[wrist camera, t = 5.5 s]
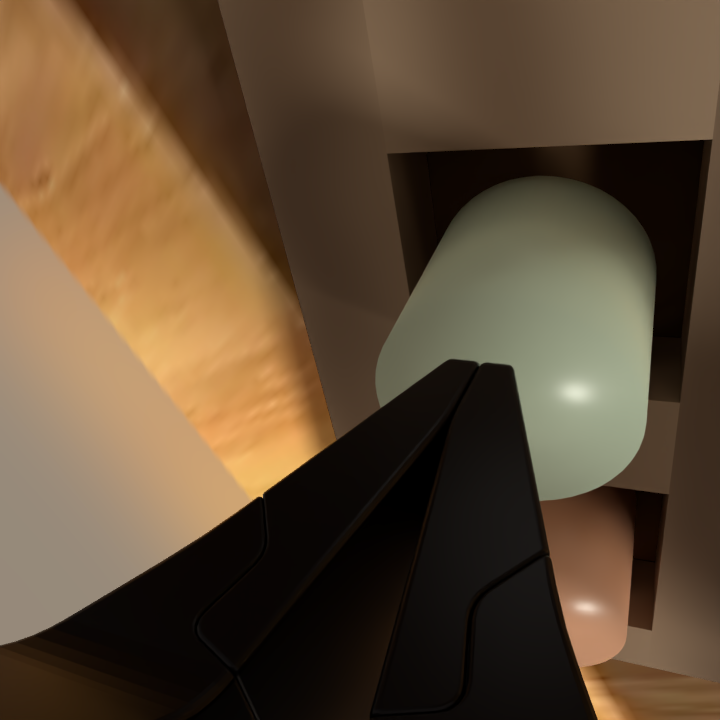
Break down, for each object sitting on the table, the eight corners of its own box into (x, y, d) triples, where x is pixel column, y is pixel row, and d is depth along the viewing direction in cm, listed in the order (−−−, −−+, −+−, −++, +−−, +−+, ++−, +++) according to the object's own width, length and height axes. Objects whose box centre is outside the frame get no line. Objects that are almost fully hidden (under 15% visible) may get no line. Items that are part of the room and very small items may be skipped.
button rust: (640, 450, 19) (632, 581, 16) (632, 553, 22) (622, 683, 19) (479, 431, 21) (442, 546, 18) (489, 529, 24) (458, 644, 21)
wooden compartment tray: (1231, -1192, 6) (1455, -1596, 4) (750, 618, 22) (755, 690, 21) (148, -587, 11) (39, -661, 9) (402, 551, 27) (381, 606, 25)
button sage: (665, 172, 13) (656, 300, 10) (648, 367, 15) (637, 518, 12) (427, 178, 15) (354, 289, 11) (449, 353, 17) (395, 481, 14)
